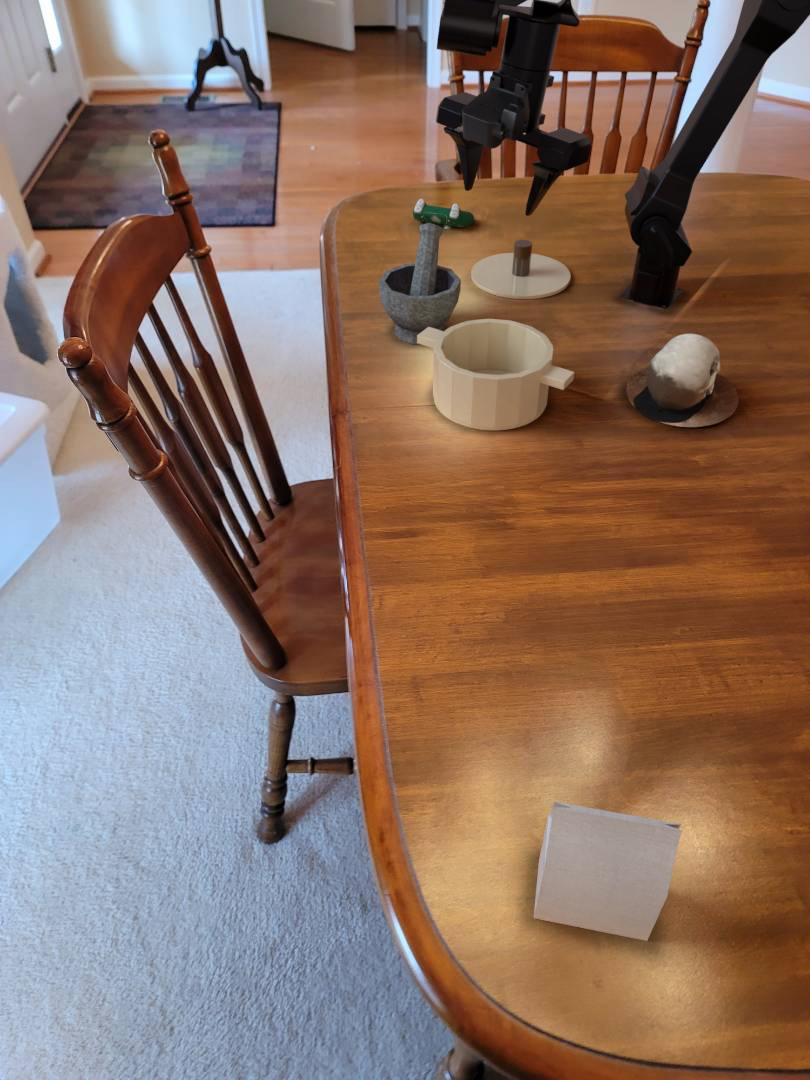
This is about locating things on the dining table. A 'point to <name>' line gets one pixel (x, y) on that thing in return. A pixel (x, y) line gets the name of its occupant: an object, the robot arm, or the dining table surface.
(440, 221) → the green toy car
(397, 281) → the mortar and pestle
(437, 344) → the pot
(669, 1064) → the dining table surface
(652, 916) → the white rectangular box
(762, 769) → the dining table surface
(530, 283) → the lid
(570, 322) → the dining table surface
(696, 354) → the skull
